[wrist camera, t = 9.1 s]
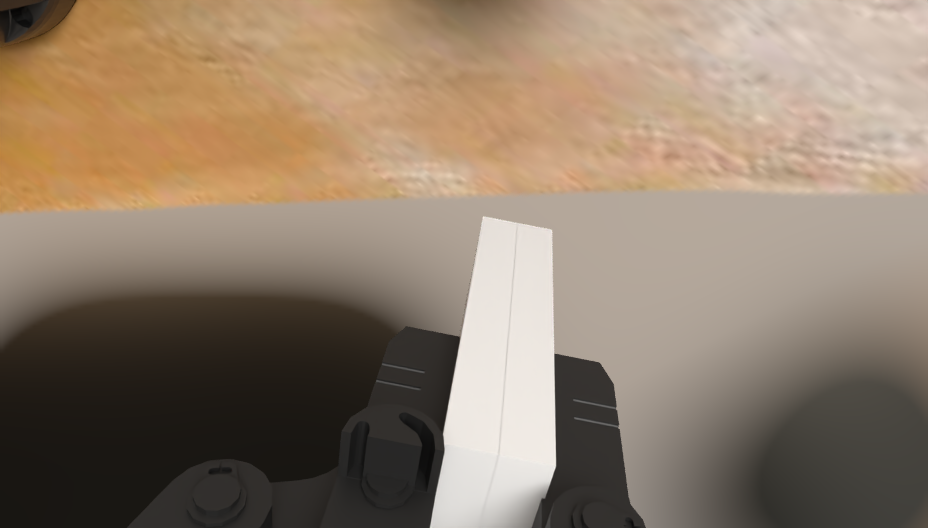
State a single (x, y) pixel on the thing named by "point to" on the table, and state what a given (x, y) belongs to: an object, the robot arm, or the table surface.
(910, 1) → the table surface
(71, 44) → the table surface
